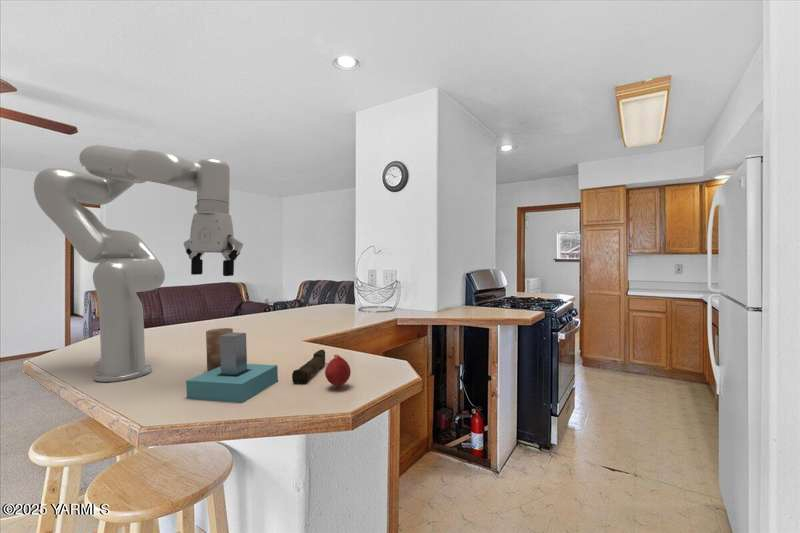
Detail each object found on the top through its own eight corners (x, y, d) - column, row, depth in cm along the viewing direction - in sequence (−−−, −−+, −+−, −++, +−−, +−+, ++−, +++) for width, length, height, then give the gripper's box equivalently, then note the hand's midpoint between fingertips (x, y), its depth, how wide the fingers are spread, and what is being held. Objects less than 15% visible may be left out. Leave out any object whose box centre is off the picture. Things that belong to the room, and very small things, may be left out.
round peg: (201, 378, 96) (200, 332, 96) (218, 371, 102) (217, 327, 102) (223, 379, 95) (221, 333, 94) (239, 372, 101) (237, 328, 101)
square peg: (221, 387, 86) (219, 335, 85) (233, 381, 90) (231, 332, 89) (236, 388, 85) (235, 336, 85) (247, 382, 89) (246, 332, 88)
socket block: (186, 398, 82) (186, 380, 82) (229, 378, 96) (228, 362, 95) (242, 402, 79) (241, 383, 79) (277, 381, 93) (277, 365, 92)
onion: (341, 381, 91) (340, 349, 91) (355, 387, 87) (354, 353, 87) (321, 388, 87) (320, 354, 87) (335, 394, 83) (334, 358, 83)
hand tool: (307, 386, 89) (306, 367, 89) (291, 385, 90) (291, 366, 90) (333, 364, 108) (333, 348, 108) (320, 363, 109) (320, 347, 109)
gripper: (173, 207, 94) (173, 274, 94) (231, 206, 90) (230, 277, 90) (196, 211, 101) (196, 273, 102) (251, 210, 97) (250, 275, 97)
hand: (212, 275), depth 96 cm, fingers open, 9 cm apart
